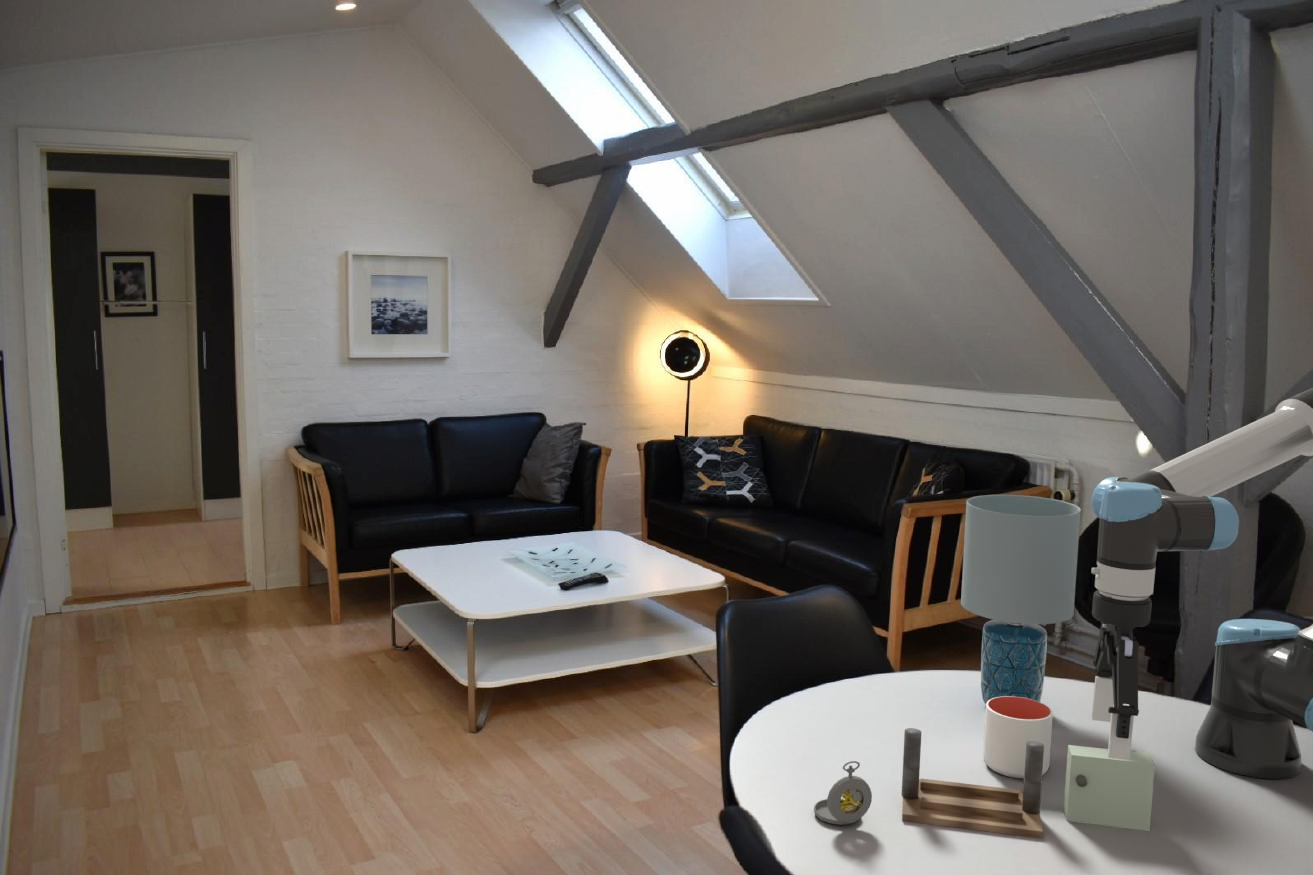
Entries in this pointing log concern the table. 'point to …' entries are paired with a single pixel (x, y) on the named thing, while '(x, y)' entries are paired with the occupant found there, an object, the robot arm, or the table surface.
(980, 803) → the hinge board
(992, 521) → the lamp
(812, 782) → the table surface
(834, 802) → the pocket watch
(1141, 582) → the robot arm
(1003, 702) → the cup
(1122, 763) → the door
